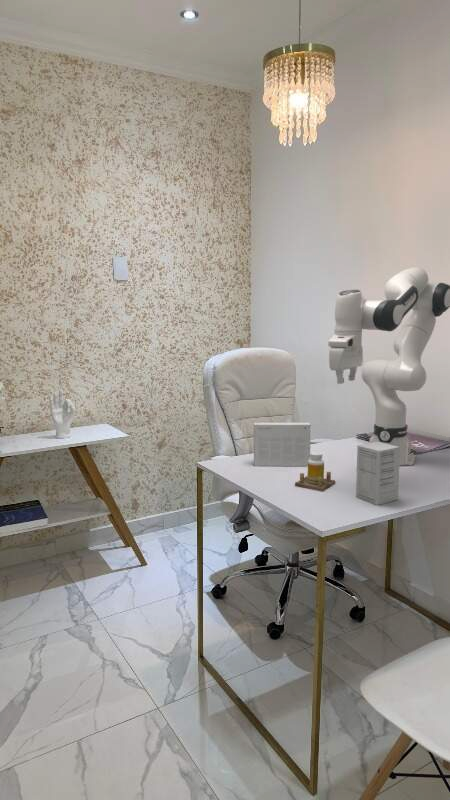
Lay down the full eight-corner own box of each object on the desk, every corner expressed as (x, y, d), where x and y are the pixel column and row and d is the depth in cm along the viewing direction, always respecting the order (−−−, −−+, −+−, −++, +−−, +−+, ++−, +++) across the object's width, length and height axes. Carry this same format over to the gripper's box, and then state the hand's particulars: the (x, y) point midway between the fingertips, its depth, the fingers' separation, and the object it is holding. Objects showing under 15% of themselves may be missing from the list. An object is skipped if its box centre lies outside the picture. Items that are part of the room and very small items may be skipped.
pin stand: (308, 478, 193) (308, 467, 192) (335, 483, 187) (335, 471, 187) (294, 485, 185) (295, 474, 184) (322, 491, 179) (323, 479, 178)
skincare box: (308, 462, 212) (309, 422, 210) (310, 466, 207) (311, 425, 204) (253, 462, 213) (253, 421, 210) (253, 466, 207) (254, 424, 205)
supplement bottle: (323, 484, 183) (324, 455, 181) (306, 483, 184) (307, 455, 182) (323, 479, 188) (324, 451, 186) (307, 478, 189) (308, 450, 187)
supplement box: (398, 500, 171) (401, 446, 168) (378, 505, 166) (380, 451, 163) (375, 491, 179) (377, 440, 176) (354, 496, 174) (356, 444, 171)
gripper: (350, 338, 192) (349, 378, 194) (326, 341, 176) (324, 384, 178) (368, 339, 189) (366, 379, 191) (345, 342, 172) (343, 386, 174)
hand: (346, 382), depth 184 cm, fingers open, 8 cm apart
